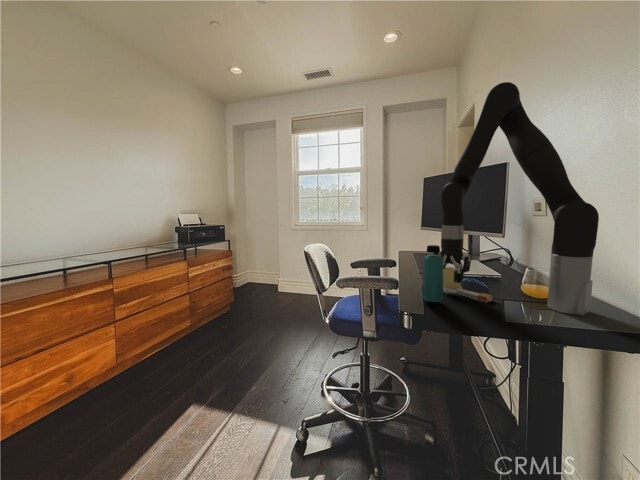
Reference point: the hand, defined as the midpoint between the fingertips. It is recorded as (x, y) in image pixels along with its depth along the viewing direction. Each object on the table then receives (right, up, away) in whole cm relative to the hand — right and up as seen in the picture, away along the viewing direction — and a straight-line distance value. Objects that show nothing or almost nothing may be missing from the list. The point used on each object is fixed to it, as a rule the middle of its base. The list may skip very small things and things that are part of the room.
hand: (450, 280), depth 103 cm
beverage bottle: (-11, -6, -10) cm, 17 cm away
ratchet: (+3, -5, -4) cm, 7 cm away
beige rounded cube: (0, -2, 0) cm, 2 cm away
